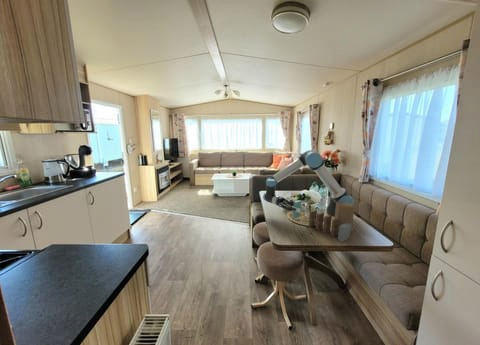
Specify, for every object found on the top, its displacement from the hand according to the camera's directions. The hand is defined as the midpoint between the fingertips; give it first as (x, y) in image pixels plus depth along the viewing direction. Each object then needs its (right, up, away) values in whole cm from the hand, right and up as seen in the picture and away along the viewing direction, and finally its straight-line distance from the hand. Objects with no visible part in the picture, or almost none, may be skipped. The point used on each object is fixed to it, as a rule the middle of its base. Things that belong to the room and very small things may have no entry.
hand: (303, 209), depth 148 cm
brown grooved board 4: (+18, -16, +3) cm, 24 cm away
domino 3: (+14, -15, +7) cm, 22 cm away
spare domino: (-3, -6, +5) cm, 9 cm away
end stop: (+25, -18, -7) cm, 32 cm away
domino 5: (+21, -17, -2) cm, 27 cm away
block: (+30, -16, +6) cm, 35 cm away
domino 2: (+11, -14, +12) cm, 21 cm away
